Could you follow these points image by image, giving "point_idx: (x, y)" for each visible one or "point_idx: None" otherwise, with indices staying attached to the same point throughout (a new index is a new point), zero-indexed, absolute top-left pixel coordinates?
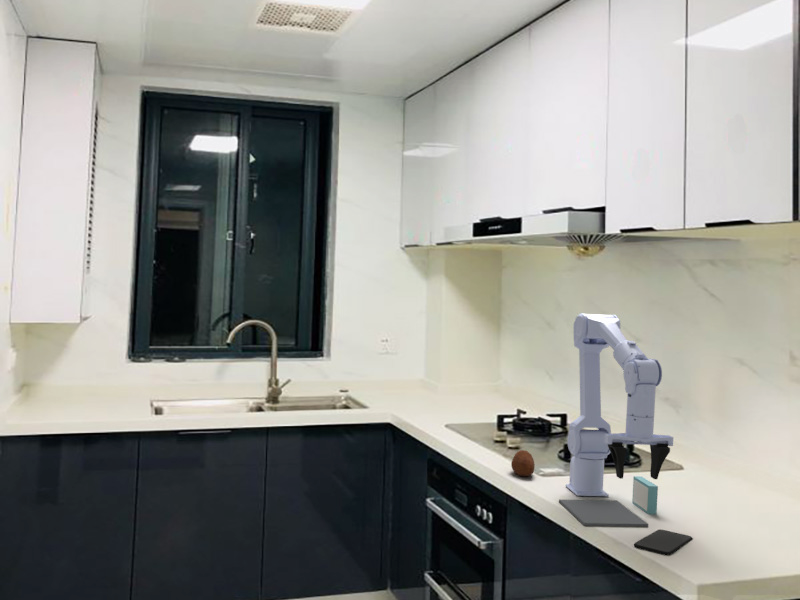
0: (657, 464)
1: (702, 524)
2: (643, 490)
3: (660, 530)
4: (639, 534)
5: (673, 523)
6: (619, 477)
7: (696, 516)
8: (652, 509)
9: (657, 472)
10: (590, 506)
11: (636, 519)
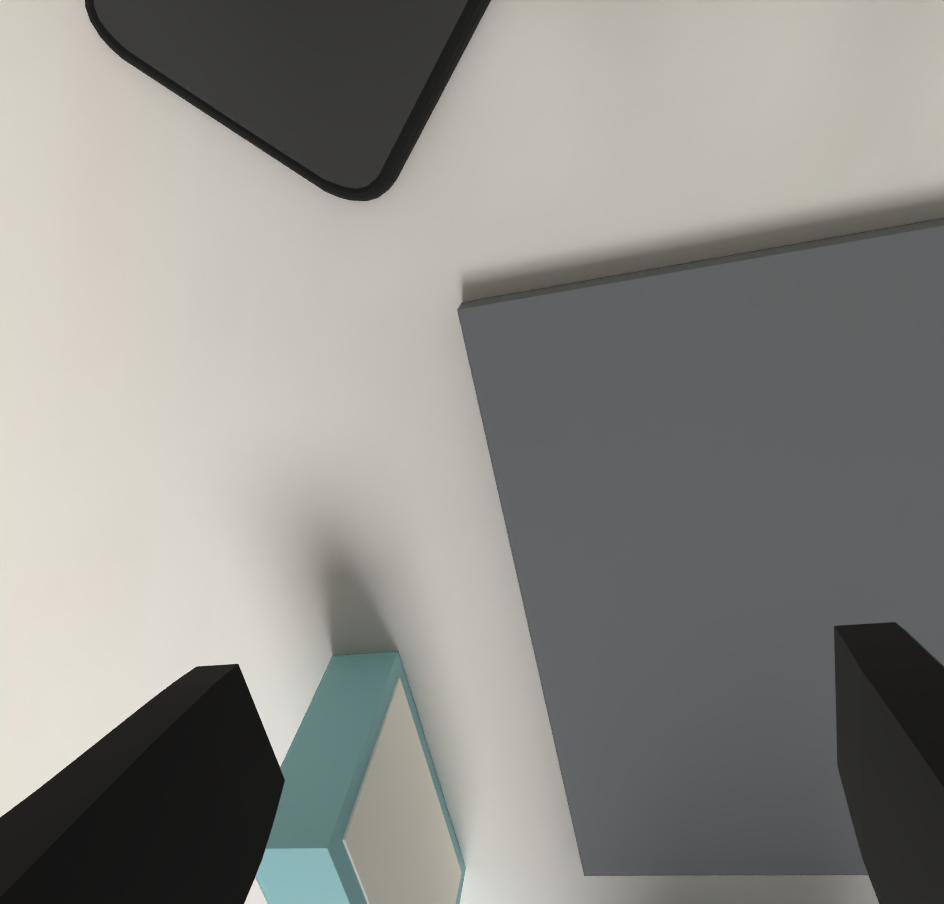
0: (26, 871)
1: (13, 468)
2: (385, 867)
3: (366, 162)
4: (610, 2)
5: (227, 453)
6: (912, 642)
7: (56, 643)
8: (353, 680)
9: (129, 737)
10: None
11: (542, 431)
